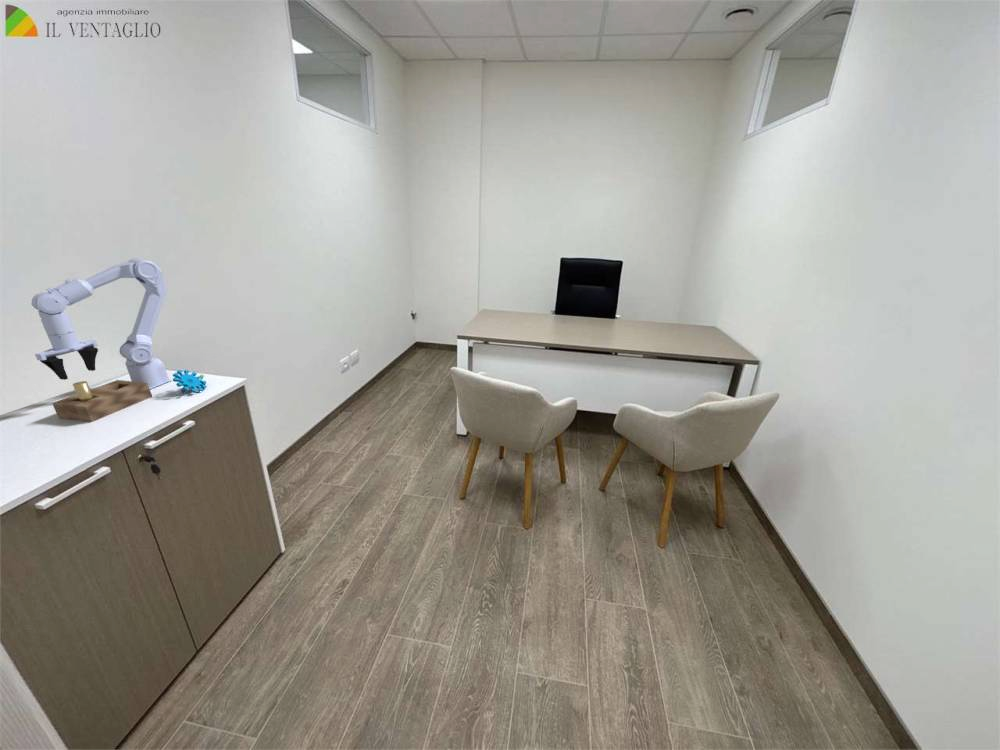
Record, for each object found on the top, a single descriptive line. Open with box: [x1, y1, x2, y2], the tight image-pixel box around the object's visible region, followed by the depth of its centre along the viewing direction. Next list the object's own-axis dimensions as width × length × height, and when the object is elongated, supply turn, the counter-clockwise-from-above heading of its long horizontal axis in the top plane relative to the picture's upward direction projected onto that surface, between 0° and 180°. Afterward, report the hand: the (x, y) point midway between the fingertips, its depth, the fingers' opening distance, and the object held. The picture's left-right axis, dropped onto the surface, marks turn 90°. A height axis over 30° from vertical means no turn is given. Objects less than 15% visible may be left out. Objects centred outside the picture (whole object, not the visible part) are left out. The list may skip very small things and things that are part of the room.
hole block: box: [51, 379, 153, 423], centre depth 124 cm, size 18×12×5 cm, turn 170°
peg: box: [72, 380, 93, 402], centre depth 119 cm, size 3×3×10 cm
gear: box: [172, 369, 207, 394], centre depth 136 cm, size 11×6×10 cm
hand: (78, 374), depth 124 cm, fingers open, 7 cm apart
